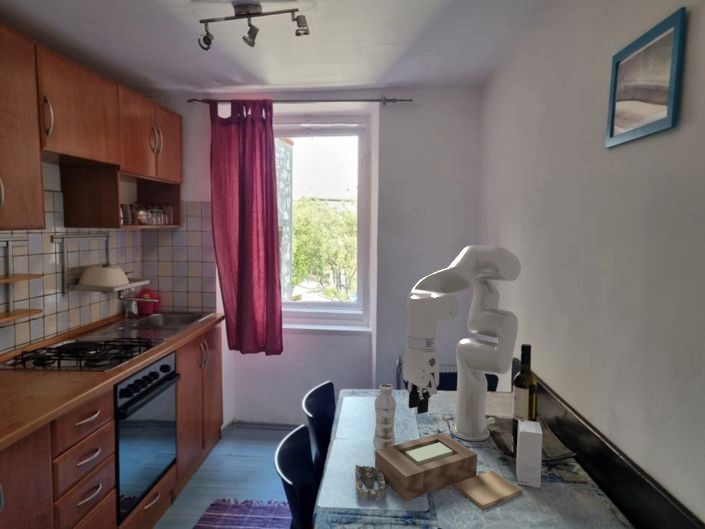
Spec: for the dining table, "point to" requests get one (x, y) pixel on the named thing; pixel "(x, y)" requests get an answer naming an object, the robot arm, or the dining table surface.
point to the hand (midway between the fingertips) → (418, 409)
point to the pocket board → (425, 467)
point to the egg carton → (369, 482)
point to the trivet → (487, 489)
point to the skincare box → (529, 453)
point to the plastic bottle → (384, 418)
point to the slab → (428, 454)
